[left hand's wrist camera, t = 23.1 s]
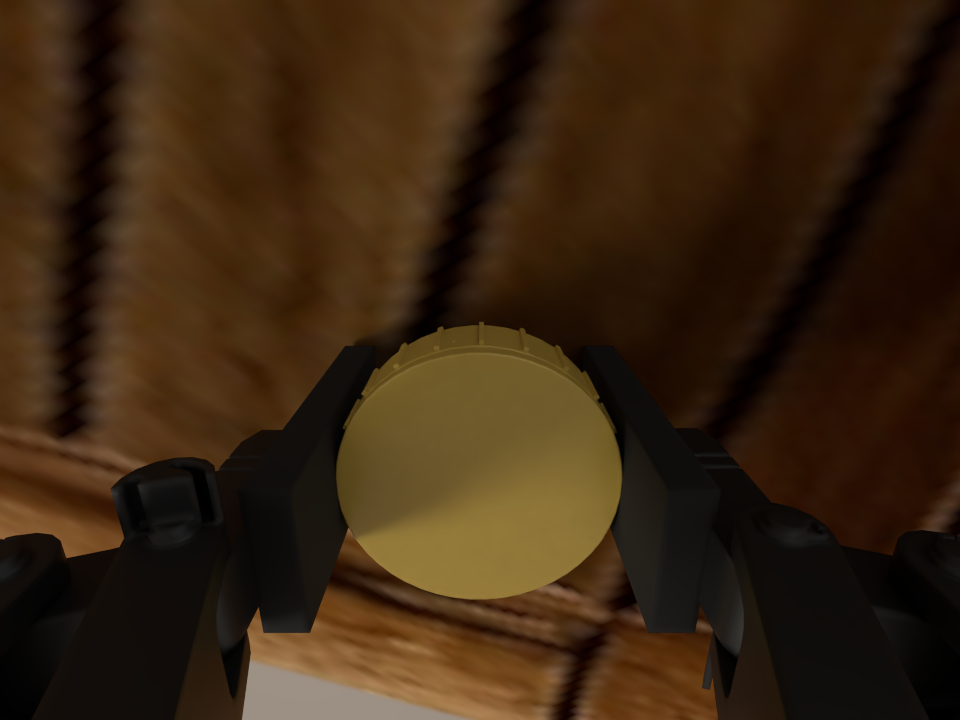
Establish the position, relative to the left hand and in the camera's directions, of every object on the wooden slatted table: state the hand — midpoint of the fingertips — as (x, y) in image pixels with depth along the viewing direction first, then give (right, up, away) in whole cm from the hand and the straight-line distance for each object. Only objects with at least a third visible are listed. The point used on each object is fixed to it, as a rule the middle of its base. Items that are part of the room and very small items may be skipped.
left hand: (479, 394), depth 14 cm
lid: (0, -1, -4) cm, 4 cm away
